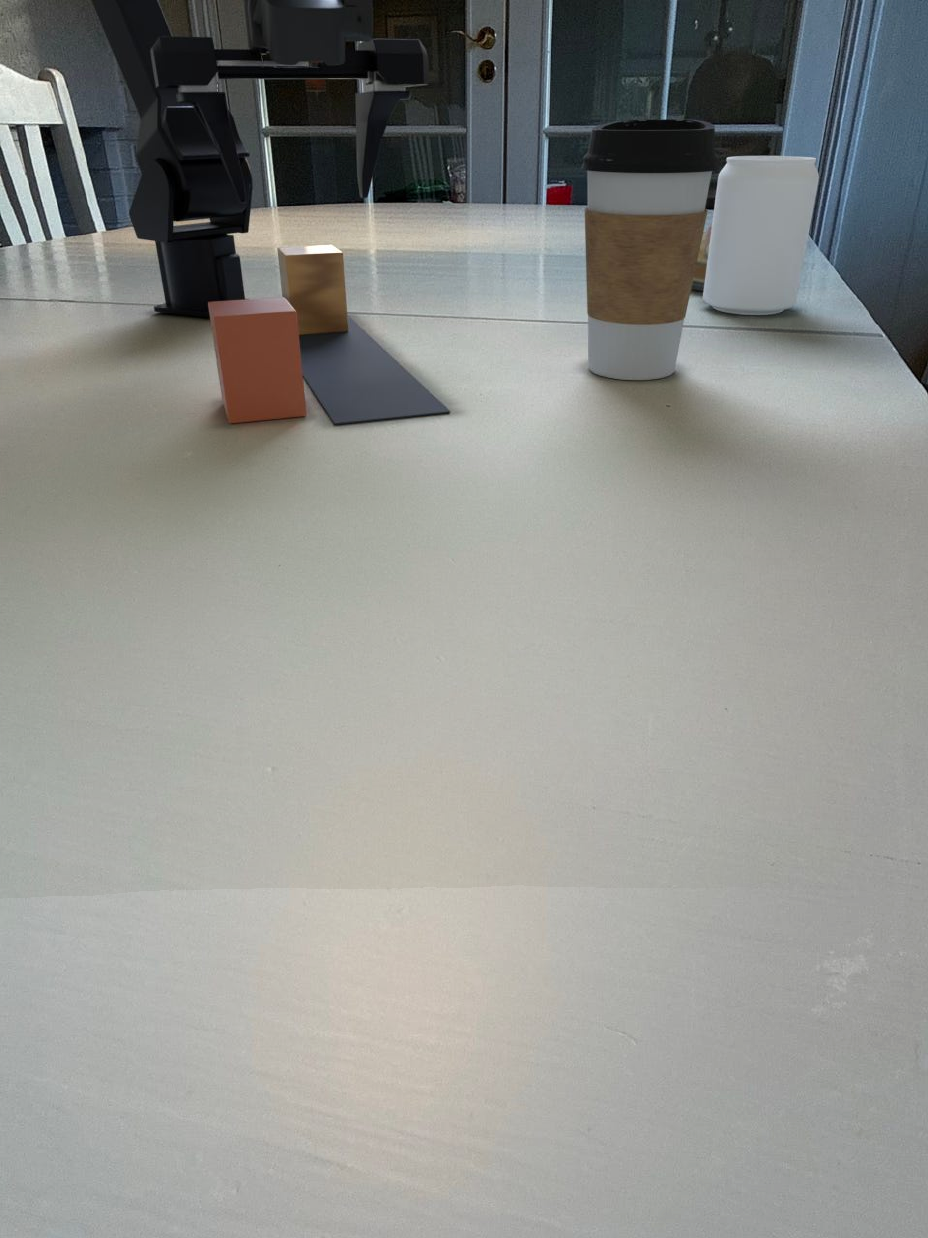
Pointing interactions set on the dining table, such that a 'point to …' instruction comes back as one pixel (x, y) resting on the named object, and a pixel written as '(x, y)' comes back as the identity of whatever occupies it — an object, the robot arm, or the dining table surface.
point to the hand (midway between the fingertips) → (304, 200)
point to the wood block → (315, 287)
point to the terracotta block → (258, 359)
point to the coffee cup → (643, 240)
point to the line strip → (361, 379)
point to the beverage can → (760, 233)
